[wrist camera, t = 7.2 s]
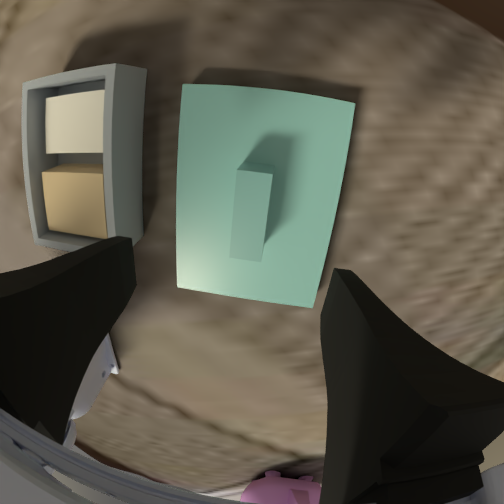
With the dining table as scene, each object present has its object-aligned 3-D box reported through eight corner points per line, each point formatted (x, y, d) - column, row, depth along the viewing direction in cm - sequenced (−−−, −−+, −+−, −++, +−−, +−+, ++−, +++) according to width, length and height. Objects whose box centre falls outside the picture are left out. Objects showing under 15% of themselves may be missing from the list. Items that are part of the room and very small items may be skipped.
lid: (311, 296, 22) (314, 330, 19) (182, 276, 23) (166, 306, 19) (350, 103, 16) (365, 102, 12) (190, 85, 16) (167, 81, 13)
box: (143, 235, 21) (118, 261, 18) (64, 223, 22) (34, 244, 18) (147, 69, 16) (115, 63, 12) (58, 81, 16) (22, 82, 13)
